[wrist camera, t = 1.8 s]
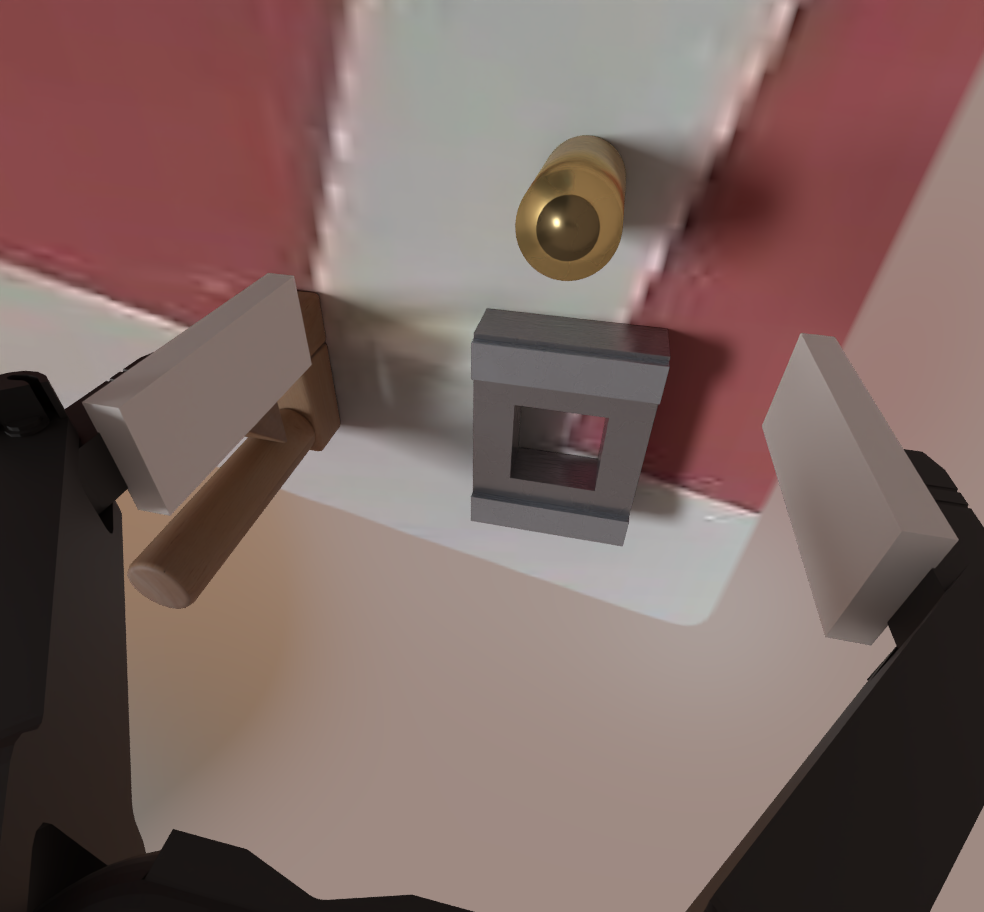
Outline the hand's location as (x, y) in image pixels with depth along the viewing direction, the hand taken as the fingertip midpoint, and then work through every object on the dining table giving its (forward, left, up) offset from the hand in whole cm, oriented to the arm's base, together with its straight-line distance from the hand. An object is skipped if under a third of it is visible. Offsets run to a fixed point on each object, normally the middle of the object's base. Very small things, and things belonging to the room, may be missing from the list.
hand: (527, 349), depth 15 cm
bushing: (0, 0, -18) cm, 19 cm away
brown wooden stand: (+13, -18, -19) cm, 29 cm away
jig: (+15, 0, -18) cm, 24 cm away
